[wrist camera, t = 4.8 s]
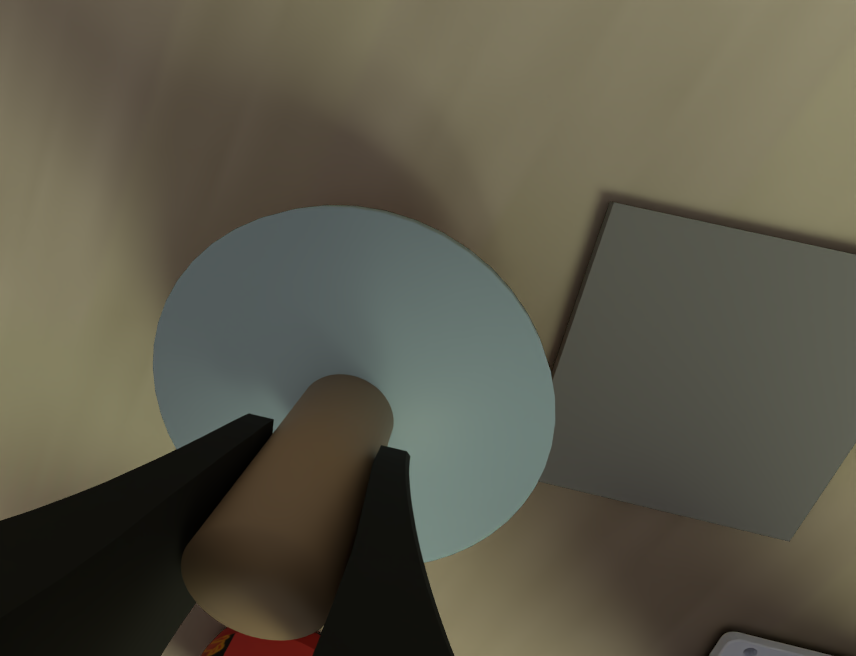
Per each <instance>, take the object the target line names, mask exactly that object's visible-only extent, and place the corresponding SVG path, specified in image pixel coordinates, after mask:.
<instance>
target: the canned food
mask: <svg viewBox="0 0 856 656" xmlns="http://www.w3.org/2000/svg"><path fill="white" fill-rule="evenodd" d="M319 637H320V635H319V634H317V633H315V632H314V633H313V634H310V635H308V636H306V637H302V638H299V639H293V640H281V641H280V640H267V639H260V638H256V637H252V636H249V635H245V634H242V633H240V632H238V631H235V630H233V629H231V628H229V627H227V628H226V629H224V630H223V631H222V632H221V633H220V634H219V635H218V636H217V637H216V638H215V639H214V640H213V641H212V642H211V643H210V644H209V645H208V646H207V647H206V649H205V650H204V652H203V653H202V655H201V656H312V655H313V653H314V650H315V648H316V645H317V643H318V640H319Z"/></svg>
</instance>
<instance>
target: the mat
mask: <svg viewBox="0 0 856 656" xmlns="http://www.w3.org/2000/svg"><path fill="white" fill-rule="evenodd" d="M551 376H552V382H553V388H554V394H555V427H554V434H553V440H552V446H551V450H550V453H549V456H548V459H547V462H546V465H545V468H544V470H543V472H542V474H541V476H540V478H539V480H538V481H539V482H543V483H547V484H551V485H556V486H560V487H564V488H568V489H572V490H576V491H581V492H585V493H589V494H593V495H597V496H602V497H606V498H610V499H614V500H618V501H622V502H627V503H631V504H635V505H639V506H643V507H647V508H652V509H656V510H660V511H664V512H668V513H672V514H677V515H681V516H685V517H689V518H693V519H698V520H702V521H706V522H710V523H714V524H718V525H723V526H727V527H731V528H735V529H739V530H743V531H748V532H752V533H756V534H760V535H764V536H768V537H773V538H777V539H781V540H785V541H789V542H790V540H791V539H792V537H793V536H794V534H795V533H796V531H797V530H798V528H799V527H800V525H801V524H802V522H803V521H804V519H805V518H806V516H807V515H808V513H809V512H810V510H811V509H812V507H813V506H814V504H815V503H816V501H817V500H818V498H819V497H820V495H821V494H822V492H823V491H824V489H825V488H826V486H827V485H828V483H829V482H830V480H831V479H832V477H833V476H834V474H835V473H836V471H837V470H838V468H839V467H840V465H841V464H842V462H843V461H844V459H845V458H846V456H847V455H848V453H849V452H850V450H851V449H852V447H853V446H854V444H855V443H856V255H855V254H850V253H846V252H841V251H837V250H832V249H827V248H823V247H818V246H813V245H809V244H804V243H800V242H795V241H790V240H786V239H781V238H776V237H772V236H767V235H763V234H758V233H753V232H749V231H744V230H740V229H735V228H730V227H726V226H721V225H716V224H712V223H707V222H703V221H698V220H693V219H689V218H684V217H679V216H675V215H670V214H666V213H661V212H656V211H652V210H647V209H643V208H638V207H633V206H629V205H624V204H619V203H615V202H610V203H609V206H608V209H607V212H606V215H605V218H604V221H603V224H602V226H601V229H600V232H599V235H598V238H597V241H596V244H595V247H594V250H593V253H592V256H591V259H590V262H589V265H588V267H587V270H586V273H585V276H584V279H583V282H582V285H581V288H580V291H579V294H578V297H577V300H576V303H575V306H574V309H573V311H572V314H571V317H570V320H569V323H568V326H567V329H566V332H565V335H564V338H563V341H562V344H561V347H560V350H559V352H558V355H557V358H556V361H555V364H554V367H553V370H552V373H551Z"/></svg>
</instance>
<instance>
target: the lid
mask: <svg viewBox="0 0 856 656" xmlns="http://www.w3.org/2000/svg"><path fill="white" fill-rule="evenodd" d="M153 373H154V383H155V392H156V396H157V400H158V404H159V408H160V412H161V415H162V418H163V420H164V423H165V426H166V428H167V431H168V434H169V436H170V438H171V439H172V441H173V443H174V445H175V447H176V449H178V448H180V447H182V446H184V445H187V444H189V443H191V442H193V441H195V440H197V439H199V438H201V437H202V436H204V435H206V434H208V433H210V432H212V431H214V430H216V429H218V428H220V427H222V426H224V425H226V424H228V423H230V422H232V421H234V420H236V419H238V418H240V417H242V416H244V415H246V414H248V413H250V414H254V415H258V416H262V417H266V418H271V419H274V423H273V434H272V435H271V437H270V438H269V439H268V440H267V442H266V443H265V444H264V446H263V447H262V448H261V450H260V451H259V452H258V453H257V455H256V456H255V457H254V459H253V460H252V461H251V463H250V464H249V465H248V467H247V468H246V469H245V470H244V472H243V473H242V474H241V476H240V477H239V478H238V480H237V481H236V482H235V483H234V485H233V486H232V487H231V489H230V490H229V491H228V493H227V494H226V495H225V496H224V498H223V499H222V500H221V502H220V503H219V504H218V506H217V507H216V508H215V509H214V511H213V512H212V513H211V515H210V516H209V517H208V519H207V520H206V521H205V522H204V524H203V525H202V526H201V528H200V529H199V530H198V532H197V533H196V534H195V535H194V537H193V538H192V539H191V541H190V542H189V543H188V545H187V546H186V548H185V550H184V552H183V555H182V559H181V573H182V577H183V581H184V583H185V585H186V588H187V589H188V591H189V593H190V595H191V596H192V597H193V599H194V600H195V601H196V603H197V604H198V605H199V606H200V607H201V608H202V609H203V610H204V611H205V612H207V613H208V614H209V615H210V616H211V617H213V618H214V619H215V620H217V621H218V622H220V623H222V624H223V625H225V626H227V627H229V628H231V629H233V630H235V631H238V632H240V633H242V634H245V635H249V636H252V637H256V638H260V639H267V640H280V641H281V640H293V639H299V638H302V637H306V636H308V635H310V634H313V633H314V632H316V631H318V630H319V629H320V628H322V627H323V626H324V624H325V622H326V619H327V617H328V614H329V611H330V609H331V606H332V603H333V601H334V598H335V596H336V593H337V590H338V588H339V585H340V582H341V579H342V577H343V574H344V571H345V569H346V566H347V563H348V560H349V558H350V555H351V552H352V549H353V545H354V542H355V538H356V535H357V530H358V526H359V522H360V517H361V513H362V508H363V504H364V500H365V495H366V491H367V486H368V482H369V478H370V473H371V469H372V464H373V462H374V459H375V457H376V455H377V453H378V451H379V448H380V446H381V445H383V446H387V447H391V448H396V449H400V450H404V451H407V452H408V453H409V455H410V456H411V457H410V466H409V478H410V492H411V500H412V508H413V513H414V519H415V525H416V531H417V536H418V540H419V545H420V549H421V553H422V557H423V561H424V562H430V561H434V560H437V559H440V558H443V557H447V556H450V555H453V554H455V553H457V552H460V551H462V550H464V549H466V548H469V547H471V546H473V545H474V544H476V543H478V542H479V541H481V540H483V539H484V538H486V537H488V536H489V535H491V534H492V533H493V532H495V531H496V530H497V529H498V528H500V527H501V526H502V525H503V524H505V523H506V522H507V521H508V520H509V519H510V518H511V517H512V516H513V515H514V514H515V513H516V512H517V511H518V510H519V509H520V507H521V506H522V505H523V504H524V502H525V501H526V500H527V498H528V497H529V495H530V494H531V492H532V491H533V490H534V488H535V486H536V484H537V482H538V480H539V478H540V476H541V474H542V472H543V470H544V468H545V465H546V462H547V459H548V456H549V453H550V450H551V446H552V440H553V434H554V427H555V394H554V388H553V382H552V376H551V371H550V368H549V365H548V362H547V359H546V356H545V353H544V350H543V347H542V344H541V341H540V338H539V335H538V333H537V331H536V329H535V327H534V325H533V323H532V321H531V319H530V317H529V315H528V313H527V312H526V310H525V309H524V307H523V306H522V304H521V303H520V301H519V300H518V298H517V297H516V296H515V294H514V293H513V291H512V290H511V289H510V287H509V286H508V285H507V284H506V283H505V282H504V281H503V280H502V279H501V278H500V276H499V275H498V274H497V273H496V272H495V271H494V270H493V269H492V268H491V267H490V266H489V265H488V264H486V263H485V262H484V261H483V260H482V259H480V258H479V257H478V256H477V255H476V254H474V253H473V252H472V251H471V250H470V249H468V248H467V247H465V246H464V245H462V244H460V243H459V242H457V241H456V240H454V239H453V238H451V237H449V236H448V235H446V234H445V233H443V232H441V231H439V230H437V229H434V228H432V227H430V226H428V225H426V224H424V223H421V222H419V221H417V220H415V219H411V218H408V217H405V216H402V215H398V214H395V213H392V212H389V211H385V210H379V209H373V208H367V207H361V206H347V205H322V206H313V207H304V208H297V209H293V210H289V211H285V212H281V213H278V214H274V215H270V216H266V217H262V218H259V219H257V220H255V221H252V222H250V223H248V224H246V225H243V226H241V227H239V228H236V229H234V230H233V231H231V232H230V233H228V234H227V235H225V236H223V237H222V238H220V239H219V240H217V241H216V242H214V243H212V244H211V245H210V246H209V247H208V248H207V249H206V250H205V251H203V252H202V253H201V254H200V255H199V256H198V257H197V258H196V259H195V260H193V262H192V263H191V264H190V265H189V267H188V268H187V269H186V270H185V272H184V273H183V274H182V275H181V277H180V278H179V279H178V281H177V282H176V284H175V286H174V288H173V290H172V291H171V293H170V295H169V297H168V298H167V300H166V303H165V306H164V308H163V311H162V314H161V317H160V319H159V322H158V327H157V332H156V337H155V342H154V355H153Z"/></svg>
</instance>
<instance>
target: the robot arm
mask: <svg viewBox="0 0 856 656" xmlns="http://www.w3.org/2000/svg"><path fill="white" fill-rule="evenodd" d="M273 423H274V419H271V418H266V417H262V416H258V415H254V414H250V413H248V414H246V415H244V416H242V417H240V418H238V419H236V420H234V421H232V422H230V423H228V424H226V425H224V426H222V427H220V428H218V429H216V430H214V431H212V432H210V433H208V434H206V435H204V436H202V437H201V438H199V439H197V440H195V441H193V442H191V443H189V444H187V445H184V446H182V447H180V448H178V449H176V450H174V451H172V452H170V453H168V454H166V455H164V456H162V457H160V458H158V459H156V460H154V461H151V462H149V463H147V464H145V465H142V466H140V467H138V468H136V469H134V470H131V471H129V472H127V473H125V474H123V475H120V476H118V477H116V478H114V479H111V480H109V481H107V482H105V483H102V484H100V485H97V486H95V487H92V488H90V489H87V490H85V491H82V492H80V493H77V494H75V495H72V496H70V497H67V498H64V499H62V500H59V501H56V502H53V503H51V504H48V505H45V506H43V507H40V508H37V509H34V510H32V511H29V512H26V513H23V514H20V515H17V516H14V517H11V518H7V519H4V520H1V521H0V656H161V655H162V653H163V651H164V650H165V648H166V647H167V645H168V643H169V642H170V640H171V639H172V637H173V636H174V634H175V633H176V631H177V629H178V628H179V626H180V625H181V624H182V622H183V621H184V619H185V618H186V616H187V615H188V613H189V612H190V611H191V609H192V608H193V606H194V605H195V603H196V601H195V600H194V599H193V597H192V596H191V595H190V593H189V591H188V589H187V588H186V585H185V583H184V581H183V577H182V573H181V559H182V555H183V552H184V550H185V548H186V546H187V545H188V543H189V542H190V541H191V539H192V538H193V537H194V535H195V534H196V533H197V532H198V530H199V529H200V528H201V526H202V525H203V524H204V522H205V521H206V520H207V519H208V517H209V516H210V515H211V513H212V512H213V511H214V509H215V508H216V507H217V506H218V504H219V503H220V502H221V500H222V499H223V498H224V496H225V495H226V494H227V493H228V491H229V490H230V489H231V487H232V486H233V485H234V483H235V482H236V481H237V480H238V478H239V477H240V476H241V474H242V473H243V472H244V470H245V469H246V468H247V467H248V465H249V464H250V463H251V461H252V460H253V459H254V457H255V456H256V455H257V453H258V452H259V451H260V450H261V448H262V447H263V446H264V444H265V443H266V442H267V440H268V439H269V438H270V437H271V435H272V434H273ZM410 457H411V456H410V455H409V453H408V452H407V451H404V450H400V449H396V448H391V447H387V446H383V445H381V446H380V448H379V451H378V453H377V455H376V457H375V459H374V462H373V464H372V469H371V473H370V478H369V482H368V486H367V491H366V495H365V500H364V504H363V508H362V513H361V517H360V522H359V526H358V530H357V535H356V538H355V542H354V545H353V549H352V552H351V555H350V558H349V560H348V563H347V566H346V569H345V571H344V574H343V577H342V579H341V582H340V585H339V588H338V590H337V593H336V596H335V598H334V601H333V603H332V606H331V609H330V611H329V614H328V617H327V619H326V622H325V624H324V627H323V630H322V632H321V635H320V637H319V640H318V643H317V645H316V648H315V650H314V653H313V655H312V656H454V653H453V651H452V649H451V646H450V643H449V641H448V638H447V635H446V632H445V629H444V627H443V624H442V621H441V618H440V615H439V612H438V609H437V606H436V603H435V600H434V597H433V594H432V590H431V587H430V584H429V580H428V577H427V573H426V569H425V566H424V561H423V557H422V553H421V549H420V545H419V540H418V536H417V531H416V525H415V519H414V513H413V508H412V500H411V492H410V478H409V466H410ZM709 656H832V655H828V654H824V653H820V652H816V651H812V650H808V649H804V648H800V647H796V646H792V645H788V644H784V643H780V642H776V641H772V640H768V639H764V638H760V637H756V636H752V635H748V634H743V633H739V632H727V633H725V634H724V635H723V636H722V637H721V638H720V640H719V641H718V643H717V644H716V646H715V647H714V649H713V650H712V652H711V653H710V655H709Z"/></svg>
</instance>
